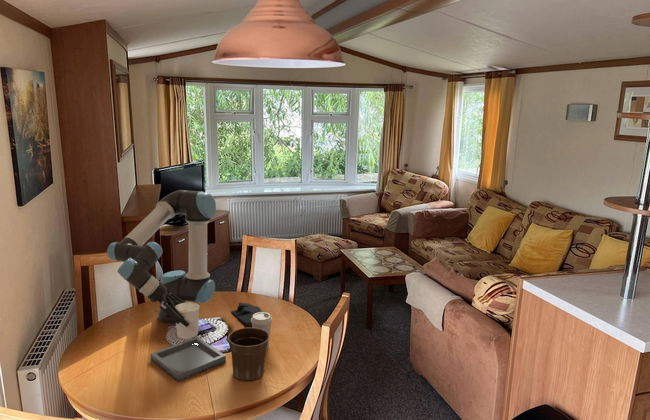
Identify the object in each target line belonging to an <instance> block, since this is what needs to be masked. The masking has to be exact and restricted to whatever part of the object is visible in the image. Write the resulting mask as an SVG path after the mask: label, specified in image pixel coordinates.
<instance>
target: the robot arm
mask: <svg viewBox="0 0 650 420" xmlns="http://www.w3.org/2000/svg"><path fill="white" fill-rule="evenodd" d="M216 210H217V205H216V199H215V197H214V196H213V195H212V194H211V193H209V192H205V191H198V190H196V191H195V190H186V189H179V190H175V191H172V192H171V193H169V194H167V195H166V196H164V197H163V198H161V199H160V200H159V201H158V202H157V203H156V205H155V208H154V209H152V210H151V212H150V213H148V214H147V216H146V217H144V219H142V220H141V221H140V222H139V223H138V224H137V225H136V227H134V228H133V229H132V230H131V231H130V232H129V233H128V234H127V235H126V236H125V237H124V238H123V239H122V240H121V241H120V242H119V241H116V242H115V241H114V242H111V243H110V244H109V245H108V247H107V250H106V254H107V257H108V258H109V259H110V260H111V261H115V262H121V263H122V262H123V263H122V264H121V265H119V267H118V269H117V273H118V274H119V276H121V277H122V279H124V280H125V281H126V282H128V283H129V284H130V285H132V286H133V288H135V289H136V290H138V291H139V293H140V294H142V295H144V296H145V297H147V299H148V300H150V302H152V303H156V302H159V303H160V305H159V311H158V314H157V315H158V320H159V321H160V322H162V323H167V324H174V323H175V324H176V323H177V324H179V323H181V324H182V325H184V326H185V327H186V328H187V329H189V330H190V331H191V332H193V331H194V330H195V329H196V328H197V326H195V325H194V324H193V323H192V322H190V321H189V320H188V319H187V318H185V317H183V316H182V315H181V314H180V312H179V311H178V310H177V309H176V308H175V306H176V305H178V304H181V303H185V302H193V303H197V304H199V303H200V304H206V303H208V302H209V301H210V300H211V299H212V297H213V295H214V293H215V290H216V284H215V281H214V280H213V279H211V273H209V272H208V223H209V222H210V221H211V220H212V219H211V218H213V217H214V216H215V214H216ZM176 215H183V216H185V217H184V218H185V219H184V220H185V221H186V222H187V224H188V272H187V273H186V271H184V270H179V269H178V270H172V271H168V272H165V273H163V274H162V275H161V277H160V281H159V279H157V278H156V277H155V276H154V275H152V274H151V273H150V272H149V271H150V270H151V269H152V267H154V265H155V264H156V263H157V262H158V261H159V260H160V258H161V256H162V255H163V252H164V251H163V248H162V246H161V245H160V244H159V243H157V242H155V241H149V240H150V239H151V238H152V236H153V235H154V234H155V233H156V232H157V231H158V230H159V229H160V228H161V227H163V225H164V224H165V223H166V222H167V221H168V220H170V219H173V218H174V217H175V216H176ZM147 241H148V242H147ZM146 242H147V243H146ZM145 243H146V244H145Z"/></svg>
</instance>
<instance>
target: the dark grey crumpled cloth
mask: <svg viewBox="0 0 650 420" xmlns="http://www.w3.org/2000/svg"><path fill="white" fill-rule="evenodd" d="M258 312H263V310H262V309H261V308H260V307H259V306H256V305H253V304H251V303H248V302H239V303H238V306H237V308H236V309H233V310H231V313H232V314H233V315H234V316H235V318H237V319H239V320H240V321H241V322H242V323H243V324H244V325H246V326H252V322H251V318H252V317H253V315H254V314H255V313H258Z"/></svg>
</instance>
